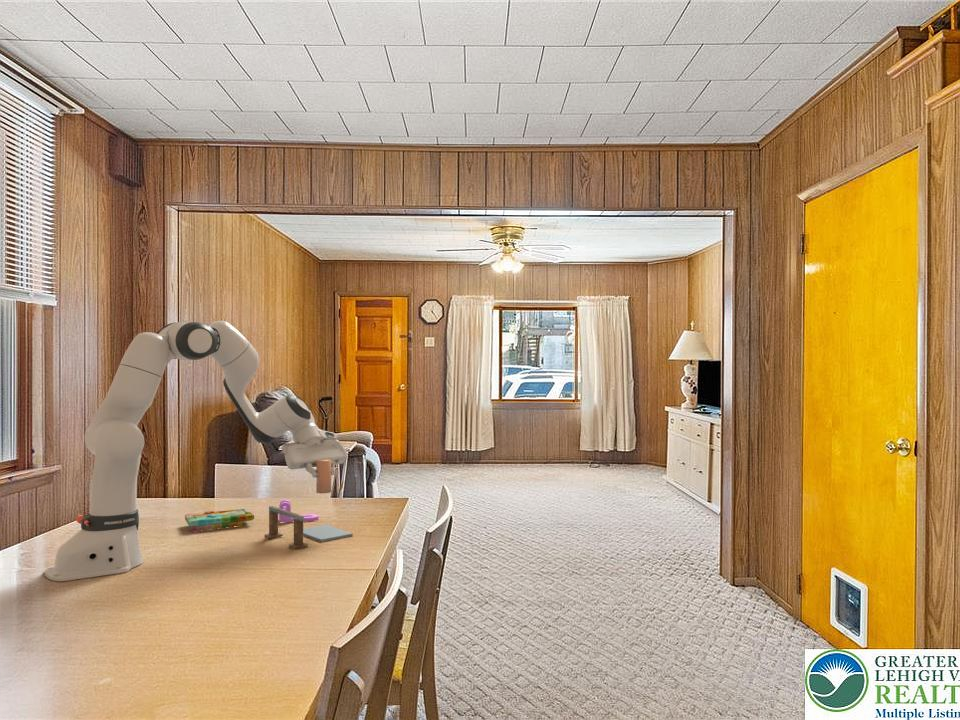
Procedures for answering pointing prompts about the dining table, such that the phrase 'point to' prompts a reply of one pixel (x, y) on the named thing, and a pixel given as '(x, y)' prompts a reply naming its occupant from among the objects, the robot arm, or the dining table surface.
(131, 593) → the dining table surface
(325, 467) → the terracotta cylinder
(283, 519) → the bracket
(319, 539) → the pad
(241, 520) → the puzzle game
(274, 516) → the hurdle posts
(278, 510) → the metal bar
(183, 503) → the dining table surface
